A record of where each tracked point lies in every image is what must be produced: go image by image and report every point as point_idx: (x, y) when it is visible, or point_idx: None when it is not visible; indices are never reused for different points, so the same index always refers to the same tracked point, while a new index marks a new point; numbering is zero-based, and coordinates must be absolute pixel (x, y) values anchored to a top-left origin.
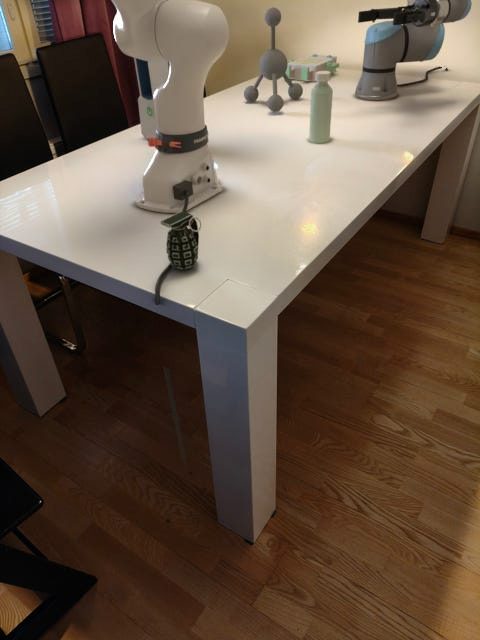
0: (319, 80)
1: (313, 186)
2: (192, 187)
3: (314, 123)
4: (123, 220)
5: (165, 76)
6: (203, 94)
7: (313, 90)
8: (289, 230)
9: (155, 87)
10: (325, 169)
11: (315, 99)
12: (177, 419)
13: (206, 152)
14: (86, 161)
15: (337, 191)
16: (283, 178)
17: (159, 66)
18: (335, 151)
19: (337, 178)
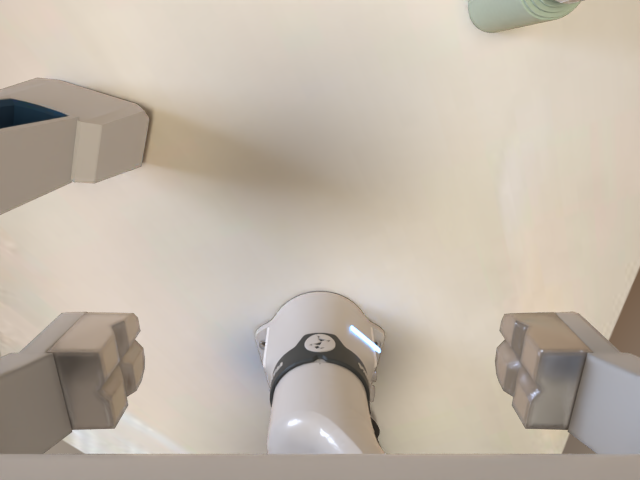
0: (565, 3)
1: (530, 270)
2: (369, 407)
3: (502, 27)
4: None
5: (44, 140)
6: (372, 430)
7: (531, 8)
8: None
9: (54, 180)
10: (539, 190)
11: (529, 21)
12: None
13: (369, 376)
14: (55, 297)
15: (573, 276)
16: (469, 255)
17: (22, 166)
18: (547, 77)
19: (568, 225)
